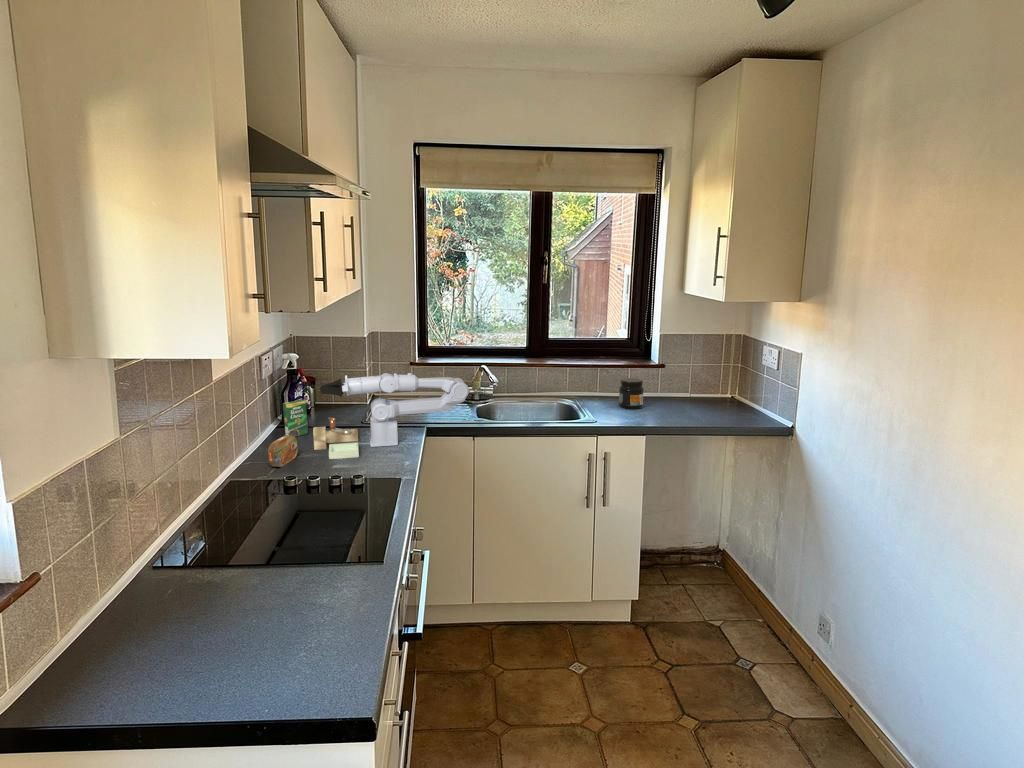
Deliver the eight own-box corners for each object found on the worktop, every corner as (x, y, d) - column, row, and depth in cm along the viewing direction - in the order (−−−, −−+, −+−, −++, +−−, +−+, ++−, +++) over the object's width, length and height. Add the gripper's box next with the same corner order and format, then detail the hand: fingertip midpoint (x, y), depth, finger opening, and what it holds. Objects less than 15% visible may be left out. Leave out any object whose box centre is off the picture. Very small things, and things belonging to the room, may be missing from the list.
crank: (353, 432, 250) (352, 420, 249) (346, 435, 247) (346, 422, 246) (332, 428, 255) (331, 416, 254) (325, 430, 253) (325, 417, 252)
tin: (276, 470, 215) (274, 445, 213) (267, 470, 215) (265, 444, 214) (300, 455, 229) (298, 431, 227) (291, 455, 230) (289, 431, 228)
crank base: (357, 432, 256) (357, 428, 256) (358, 441, 246) (358, 437, 246) (324, 434, 254) (324, 430, 253) (323, 443, 243) (323, 439, 243)
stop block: (326, 445, 240) (325, 426, 239) (326, 449, 237) (325, 429, 235) (314, 446, 240) (313, 427, 238) (314, 449, 236) (313, 430, 234)
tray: (358, 448, 237) (358, 442, 237) (358, 457, 228) (358, 450, 227) (329, 450, 235) (329, 444, 234) (329, 459, 226) (328, 452, 225)
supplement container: (647, 409, 292) (648, 381, 290) (624, 410, 290) (625, 383, 287) (637, 403, 302) (638, 377, 300) (614, 404, 300) (615, 378, 297)
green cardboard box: (288, 438, 248) (285, 403, 246) (284, 437, 250) (282, 402, 248) (308, 434, 254) (306, 400, 251) (305, 432, 256) (302, 398, 253)
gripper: (359, 372, 244) (320, 376, 241) (360, 375, 230) (318, 379, 227) (361, 392, 244) (322, 396, 241) (362, 395, 230) (320, 400, 227)
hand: (320, 389), depth 234 cm, fingers open, 7 cm apart
